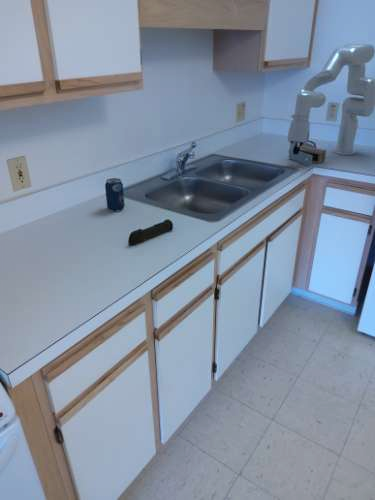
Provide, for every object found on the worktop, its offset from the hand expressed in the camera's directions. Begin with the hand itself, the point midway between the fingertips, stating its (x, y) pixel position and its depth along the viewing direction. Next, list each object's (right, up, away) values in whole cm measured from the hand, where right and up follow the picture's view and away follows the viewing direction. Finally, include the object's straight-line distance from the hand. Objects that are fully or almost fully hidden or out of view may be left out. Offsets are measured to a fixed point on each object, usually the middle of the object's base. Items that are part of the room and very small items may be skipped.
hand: (295, 153), depth 208 cm
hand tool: (-71, -48, -72) cm, 112 cm away
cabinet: (+10, 0, +13) cm, 17 cm away
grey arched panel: (+12, +7, +27) cm, 30 cm away
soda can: (-87, -35, -50) cm, 107 cm away
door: (+4, -2, +8) cm, 9 cm away
